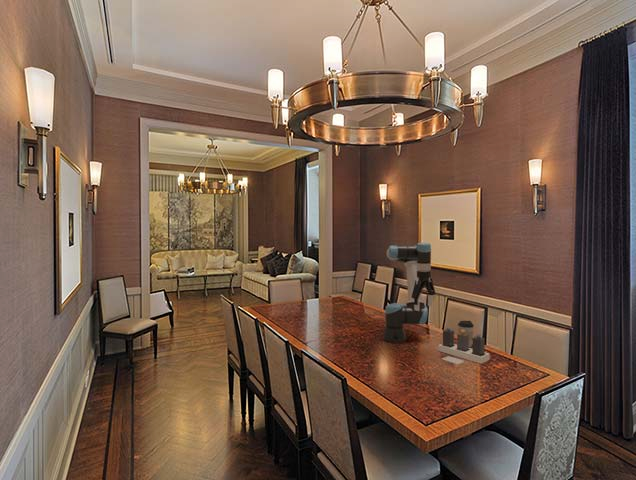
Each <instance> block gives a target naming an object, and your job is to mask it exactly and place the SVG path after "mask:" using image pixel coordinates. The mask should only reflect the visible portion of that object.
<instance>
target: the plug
mask: <svg viewBox="0 0 636 480" xmlns="http://www.w3.org/2000/svg"><path fill="white" fill-rule="evenodd" d="M456 343H457V344H456V345H457V350H460V351H464V352H466V351H468V350H469V348H470V347H469V334H465V330H461V333H459V332H458V333H456Z"/></svg>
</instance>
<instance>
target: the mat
mask: <svg viewBox="0 0 636 480" xmlns="http://www.w3.org/2000/svg"><path fill="white" fill-rule="evenodd" d="M441 360H442V361H446V362H448V363H449V362H450V363H453V364H455V365H460V364H462V363H464V362H465V360H464V359H461V358H457V357H454V356H453V357H452V356H451V355H447V356H445V357H443V358H441Z"/></svg>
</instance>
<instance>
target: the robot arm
mask: <svg viewBox="0 0 636 480" xmlns="http://www.w3.org/2000/svg"><path fill="white" fill-rule="evenodd" d="M431 255H432V245H431V243H430V242H429V243H428V242H417V244H409V245H408V244H404V245H402V244H401V245H400V244H399V245H389V246H388V248H387V250H386V257H387V259H388V260H390V261H393V262H397V263H403V266H404V267H406V280H407V297H408V298H407V300H408V301H407V302H406V303H405V304H406V305H404V304H403V303H402V302H393V303H388V304H387V305H386V306H385V310H384V313H385V316H384V317H385V322H384V324H385V328H384V331H383V334H382V340H383V341H384V342H387V343H390V344H391V343H392V344H401V343H405V342H406V341H407V334H406V332H405V329H404V327H405V326H404V325H425V324H426V323H427V321H428V320H427V319H428V314H429V313H428V312H429V310H428V307H433V306H434V296H435V295H436V290H435V286H434V283H433V278H431V276H432V272H431V269H432V268H431V267H432V261H431V260H432V256H431ZM424 289H425V290H426V292H427V293H428V294H427V305H425V302H424V301H423V299H422V291H423V290H424Z"/></svg>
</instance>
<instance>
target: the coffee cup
mask: <svg viewBox="0 0 636 480" xmlns="http://www.w3.org/2000/svg"><path fill="white" fill-rule="evenodd" d="M457 323H458V324H457V326H458V331H457V332H458V334H459V333H461V330H465V334H469V348H472V338H474V326H475V325H474V323H472V321H471V320H460V321H459V322H457Z"/></svg>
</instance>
